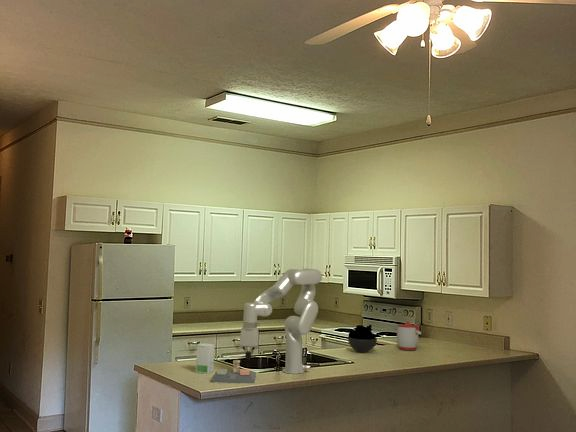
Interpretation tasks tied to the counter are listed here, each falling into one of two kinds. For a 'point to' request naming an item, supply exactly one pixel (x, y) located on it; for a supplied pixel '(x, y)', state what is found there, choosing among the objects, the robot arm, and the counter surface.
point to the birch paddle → (236, 366)
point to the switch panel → (234, 378)
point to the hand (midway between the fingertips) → (248, 359)
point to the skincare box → (205, 358)
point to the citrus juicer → (407, 336)
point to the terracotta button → (245, 372)
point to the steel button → (222, 371)
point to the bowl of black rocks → (362, 339)
